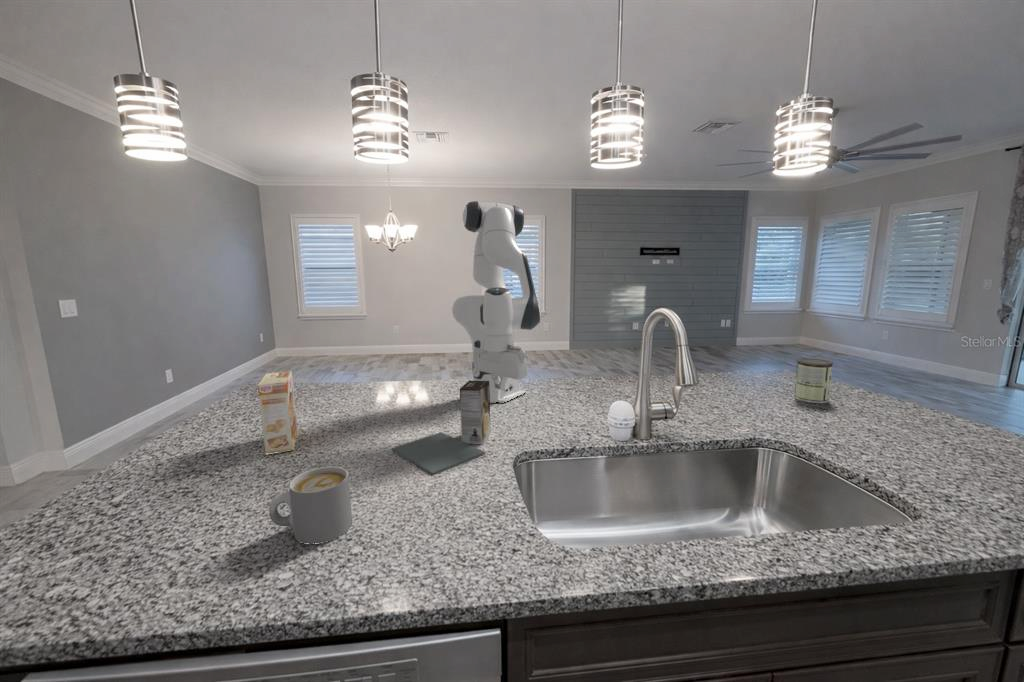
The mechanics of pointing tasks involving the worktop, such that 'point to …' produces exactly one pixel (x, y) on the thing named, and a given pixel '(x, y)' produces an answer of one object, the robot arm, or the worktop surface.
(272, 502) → the coffee mug
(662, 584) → the worktop surface
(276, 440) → the coffeecake box
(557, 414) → the worktop surface
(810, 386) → the coffee can
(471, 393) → the coffee box
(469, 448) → the mat
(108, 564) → the worktop surface
